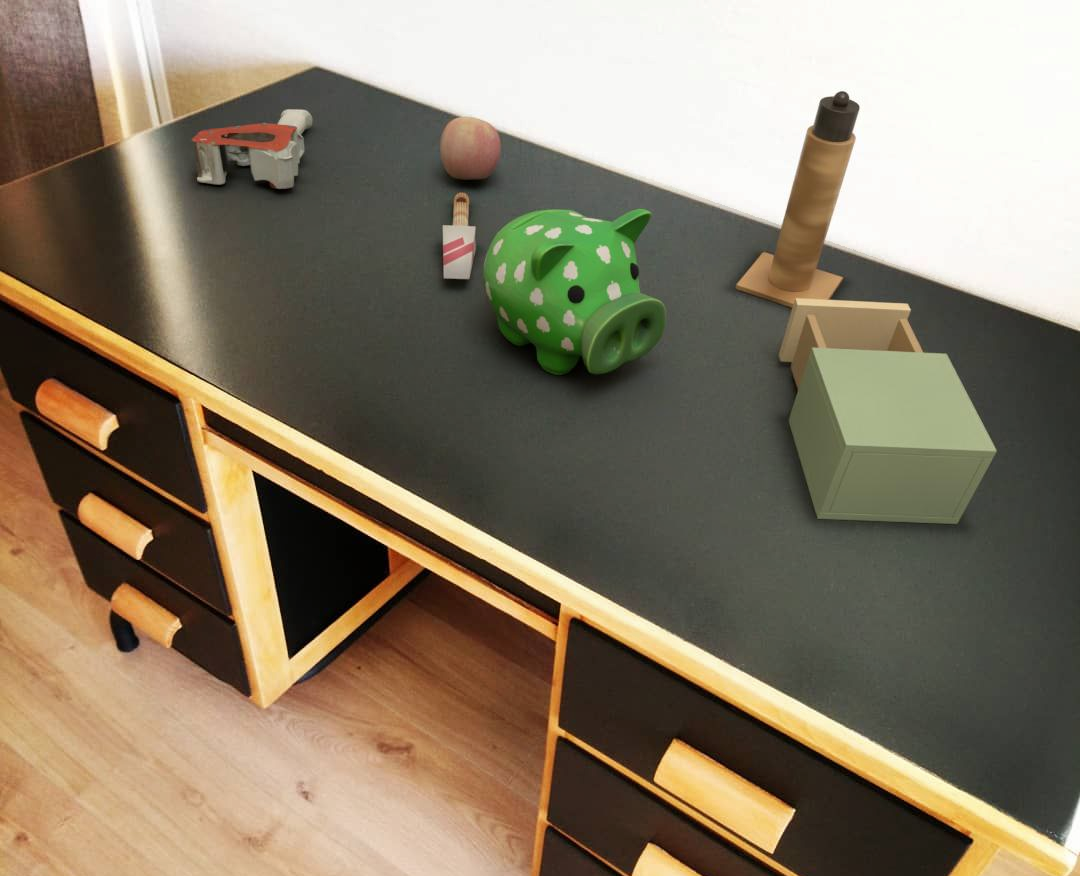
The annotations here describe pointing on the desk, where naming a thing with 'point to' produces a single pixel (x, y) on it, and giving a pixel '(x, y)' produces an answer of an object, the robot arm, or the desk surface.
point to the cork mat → (762, 287)
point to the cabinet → (888, 436)
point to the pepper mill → (814, 193)
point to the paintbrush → (459, 241)
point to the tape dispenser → (254, 149)
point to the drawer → (844, 329)
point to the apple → (470, 148)
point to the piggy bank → (573, 289)
